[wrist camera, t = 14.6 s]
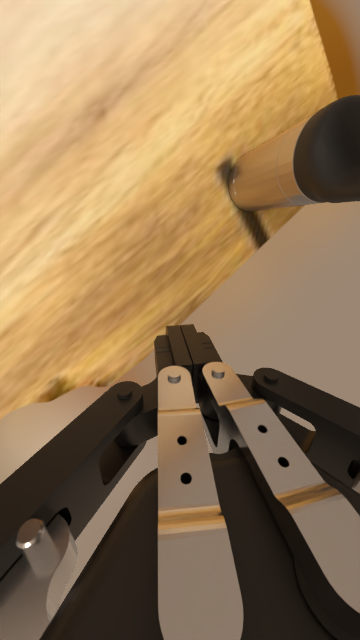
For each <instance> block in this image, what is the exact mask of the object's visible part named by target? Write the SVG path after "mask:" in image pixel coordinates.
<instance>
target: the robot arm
mask: <svg viewBox="0 0 360 640" xmlns="http://www.w3.org/2000/svg"><path fill="white" fill-rule="evenodd" d="M229 192H230V196H231V198H232V200H233V202H234V203H235V205H237V206H238V207H239V208H240V209H242V210H244V211H260V210H269V209H277V208H285V207H292V206H300V205H308V204H315V203H324V202H330V203H341V202H351V201H360V96H359V95H354V96H347V97H343V98H341V99H338V100H336V101H334V102H332V103H331V104H329V105H327V106H326V107H324V108H322V109H321V110H319V111H317V112H316V113H314V114H312V115H311V116H309V117H307V118H306V119H304V120H302V121H301V122H299V123H297V124H296V125H294V126H292V127H291V128H289V129H287V130H286V131H284V132H282V133H280V134H279V135H277V136H275V137H274V138H272V139H270V140H269V141H267V142H265V143H264V144H262V145H260V146H259V147H257V148H255V149H253V150H252V151H250V152H248V153H247V154H245V155H243V156H242V157H241V158H239V159H238V160H237V162H236V163H235V164H234V166H233V168H232V170H231V173H230V176H229ZM154 347H155V364H156V373H157V377H156V379H155V380H154V381H152V382H151V383H149V384H147V385H145V386H142V387H141V386H140V385H139V384H137V383H135V382H131V381H126V382H120V383H117V384H115V385H114V386H112V387H111V388H110V389H109V390H108V391H107V392H105V393H104V394H103V395H102V396H101V397H100V398H98V399H97V400H96V401H95V402H94V403H93V404H92V405H90V406H89V407H88V408H87V409H86V410H85V411H84V412H82V413H81V414H80V415H79V416H78V417H77V418H76V419H74V420H73V421H72V422H71V423H70V424H69V425H68V426H66V427H65V428H64V429H63V430H62V431H61V432H60V433H59V434H57V435H56V436H55V437H54V438H53V439H52V440H50V441H49V442H48V443H47V444H46V445H45V446H43V447H42V448H41V449H40V450H39V451H38V452H37V453H35V454H34V455H33V456H32V457H31V458H30V459H29V460H28V461H26V462H25V463H24V464H23V465H22V466H21V467H20V468H19V469H17V470H16V471H15V472H14V473H13V474H12V475H10V476H9V477H8V478H7V479H6V480H5V481H3V482H2V483H1V484H0V640H360V408H359V407H357V406H355V405H353V404H350V403H348V402H346V401H344V400H342V399H339V398H337V397H334V396H333V395H331V394H328V393H326V392H324V391H322V390H320V389H317V388H315V387H313V386H311V385H308V384H306V383H304V382H302V381H299V380H297V379H295V378H293V377H291V376H288V375H286V374H284V373H282V372H280V371H278V370H275V369H272V368H260V369H257V370H256V371H255V372H254V375H253V376H247V375H240V374H236V373H235V372H234V370H233V369H232V368H231V367H230V366H229V365H227V364H224V363H223V362H222V360H221V358H220V356H219V355H218V353H217V351H216V349H215V347H214V345H213V343H212V341H211V339H210V337H209V336H208V335H206V334H205V333H203V332H201V333H197V332H196V329H195V327H194V325H193V324H191V325H180V326H179V325H176V326H166V335H161V336H157V337H156V339H155V341H154ZM196 403H199V406H200V409H199V408H197V407H196ZM281 407H282V408H284V409H286V410H288V411H290V412H292V413H293V414H295V415H297V416H299V417H301V418H303V419H305V420H306V421H308V422H310V423H311V424H312V425H313V426H314V427H315V429H316V431H311V430H308V429H306V428H305V427H303V426H301V425H299V424H298V423H295V422H294V421H292V420H290V419H289V418H286V417H285V416H283V415H281V414H280V410H281ZM204 430H205V432H204ZM205 433H206V435H207V438H208V441H209V443H210V446H211V448H212V451H213V453H209V451H208V446H207V441H206V436H205ZM157 435H158V468H156V469H155V470H153V471H151V472H150V473H149V474H147V475H146V476H145V477H144V478H143V479H142V480H141V481H140V482H139V483H138V484H137V485H136V486H135V488H134V489H133V491H132V492H131V493H130V495H129V497H128V498H127V500H126V502H125V503H124V505H123V506H122V508H121V510H120V511H119V513H118V514H117V516H116V518H115V519H114V521H113V522H112V524H111V525H110V527H109V529H108V530H107V532H106V533H105V535H104V537H103V538H102V540H101V542H100V543H99V545H98V546H97V548H96V550H95V551H94V553H93V554H92V556H91V558H90V559H89V561H88V562H87V564H86V566H85V567H84V569H83V570H82V572H81V574H80V575H79V577H78V578H77V580H76V582H75V584H74V585H73V587H72V588H71V590H70V591H69V593H68V595H67V596H66V598H65V599H64V601H63V603H62V604H61V606H60V607H59V603H60V600H61V596H62V594H63V591H64V589H65V587H66V585H67V583H68V581H69V580H70V578H71V575H72V573H73V571H74V568H75V565H76V561H77V547H76V543H75V540H76V539H77V537H78V536H79V535H80V533H81V532H82V531H83V529H84V528H85V527H86V525H87V524H88V522H89V521H90V520H91V518H92V517H93V516H94V514H95V513H96V512H97V510H98V509H99V508H100V506H101V505H102V504H103V502H104V501H105V499H106V498H107V497H108V495H109V494H110V492H111V491H112V489H113V488H114V487H115V486H116V484H117V483H118V482H119V480H120V479H121V478H122V476H123V475H124V474H125V472H126V471H127V470H128V468H129V467H130V465H131V464H132V463H133V461H134V460H135V459H136V457H137V456H138V455H139V453H140V452H141V451H142V449H143V448H144V446H145V444H146V441H147V440H149V439H151V438H153V437H155V436H157ZM58 608H59V609H58Z"/></svg>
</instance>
